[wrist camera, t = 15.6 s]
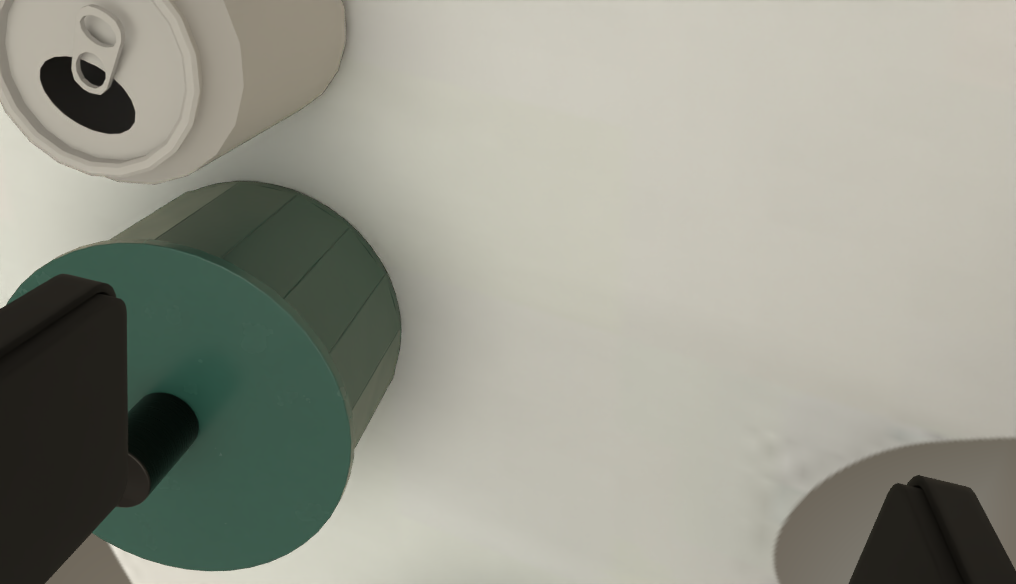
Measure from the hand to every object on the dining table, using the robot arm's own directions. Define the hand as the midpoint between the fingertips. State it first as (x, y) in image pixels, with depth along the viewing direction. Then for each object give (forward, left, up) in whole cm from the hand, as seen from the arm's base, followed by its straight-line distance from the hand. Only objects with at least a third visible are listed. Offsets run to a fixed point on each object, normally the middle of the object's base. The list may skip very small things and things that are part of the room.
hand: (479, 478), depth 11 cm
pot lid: (+12, +13, -17) cm, 25 cm away
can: (+13, 0, -26) cm, 29 cm away
